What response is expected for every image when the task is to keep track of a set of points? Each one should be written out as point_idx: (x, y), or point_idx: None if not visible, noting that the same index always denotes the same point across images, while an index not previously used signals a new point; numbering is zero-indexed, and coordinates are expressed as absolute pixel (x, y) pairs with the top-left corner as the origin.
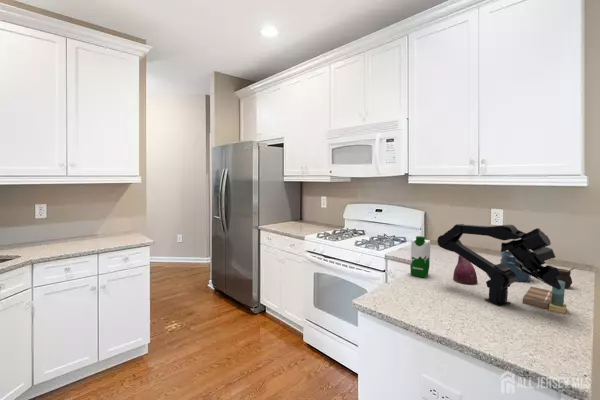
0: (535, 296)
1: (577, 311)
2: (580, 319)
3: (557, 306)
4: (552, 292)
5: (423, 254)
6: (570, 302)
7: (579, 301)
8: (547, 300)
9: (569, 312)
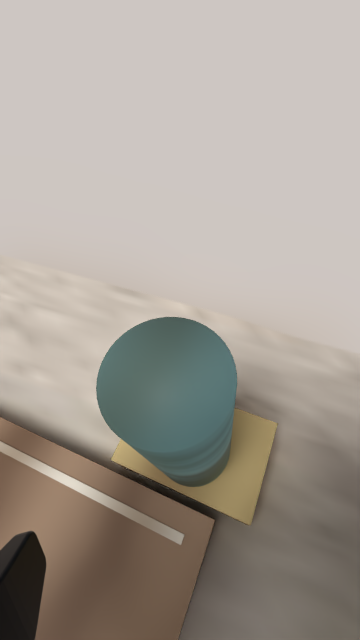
0: None
1: None
2: (316, 370)
3: (241, 459)
4: (187, 475)
5: None
6: (32, 331)
7: (8, 287)
8: (124, 493)
9: None
